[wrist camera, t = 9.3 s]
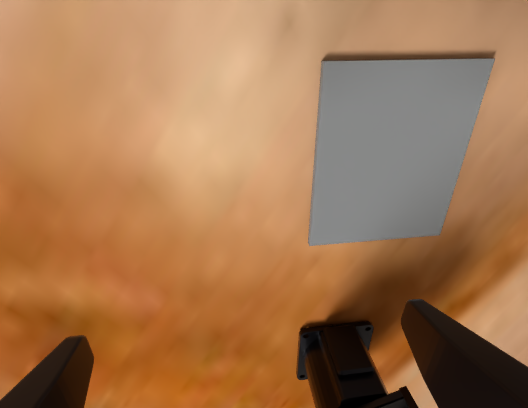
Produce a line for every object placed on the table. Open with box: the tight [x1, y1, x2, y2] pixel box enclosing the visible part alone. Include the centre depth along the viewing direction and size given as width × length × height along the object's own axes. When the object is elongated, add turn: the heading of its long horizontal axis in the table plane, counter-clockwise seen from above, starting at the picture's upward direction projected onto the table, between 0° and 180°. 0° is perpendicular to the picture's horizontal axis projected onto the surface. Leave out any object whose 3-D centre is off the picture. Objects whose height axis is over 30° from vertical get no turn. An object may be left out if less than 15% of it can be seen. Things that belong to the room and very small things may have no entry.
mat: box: [308, 58, 495, 246], centre depth 20 cm, size 12×10×1 cm
